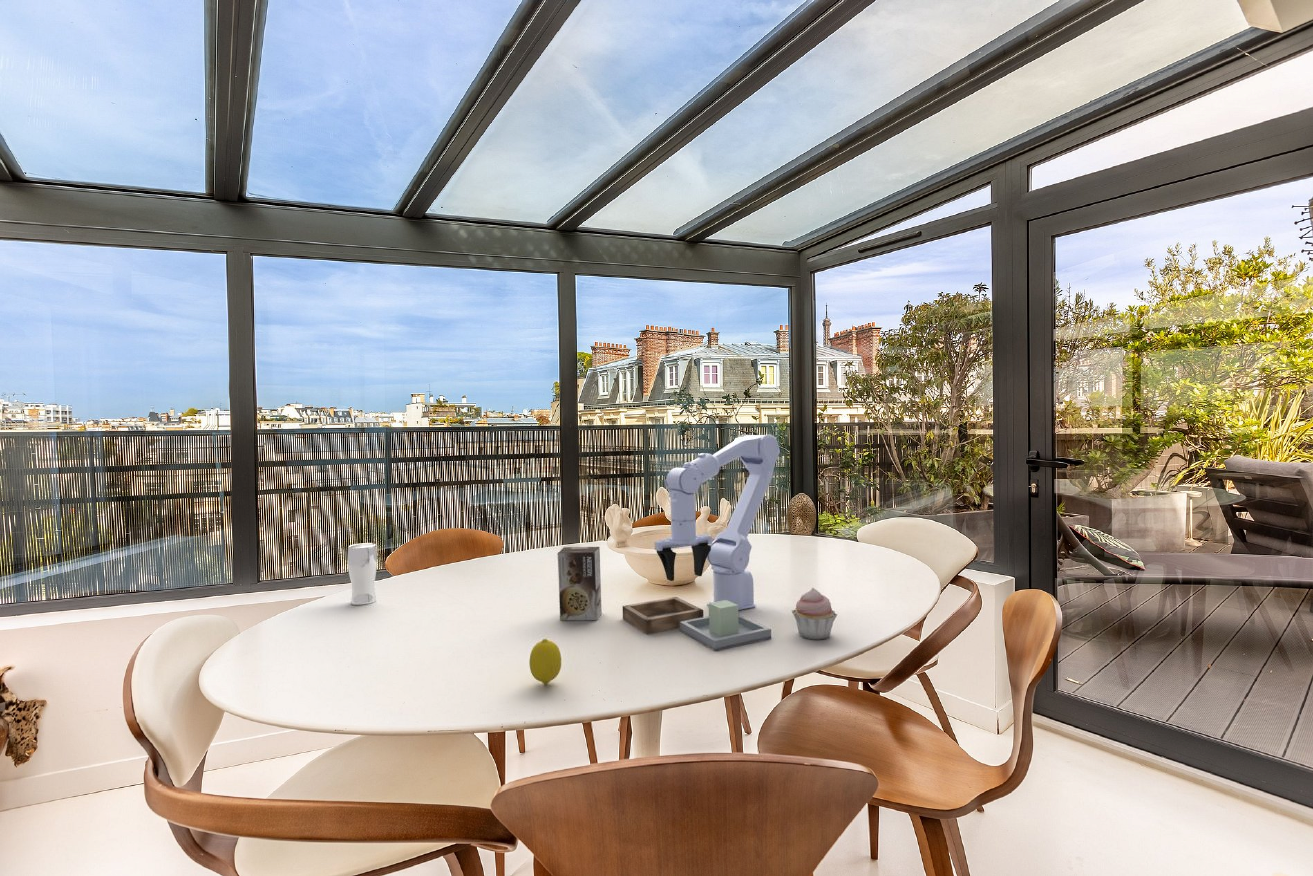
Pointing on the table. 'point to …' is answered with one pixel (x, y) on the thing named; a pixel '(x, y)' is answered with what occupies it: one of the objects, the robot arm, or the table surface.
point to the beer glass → (362, 572)
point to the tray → (747, 634)
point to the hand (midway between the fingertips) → (684, 577)
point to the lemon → (545, 661)
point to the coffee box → (579, 583)
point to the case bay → (660, 623)
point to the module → (723, 618)
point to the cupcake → (814, 615)
